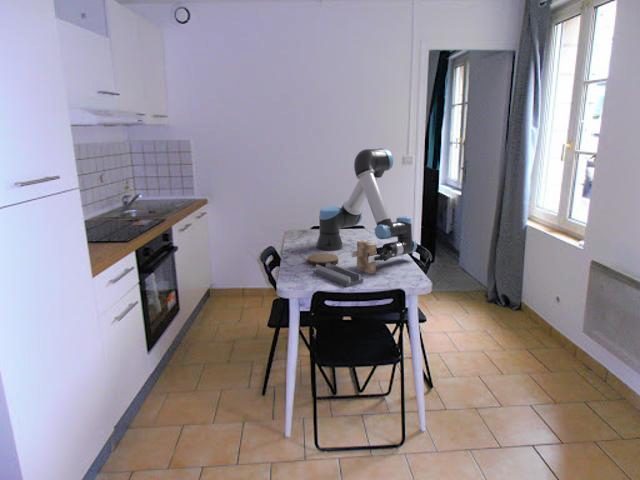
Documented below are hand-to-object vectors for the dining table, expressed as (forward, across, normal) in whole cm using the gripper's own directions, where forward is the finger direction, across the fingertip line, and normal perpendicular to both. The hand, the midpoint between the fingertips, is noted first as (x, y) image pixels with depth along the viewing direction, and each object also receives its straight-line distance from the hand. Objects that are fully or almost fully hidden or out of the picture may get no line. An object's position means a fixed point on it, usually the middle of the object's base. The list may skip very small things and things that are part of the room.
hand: (360, 257), depth 215 cm
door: (-4, 0, -8) cm, 9 cm away
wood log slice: (+4, +24, -8) cm, 26 cm away
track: (+14, 0, -8) cm, 16 cm away
